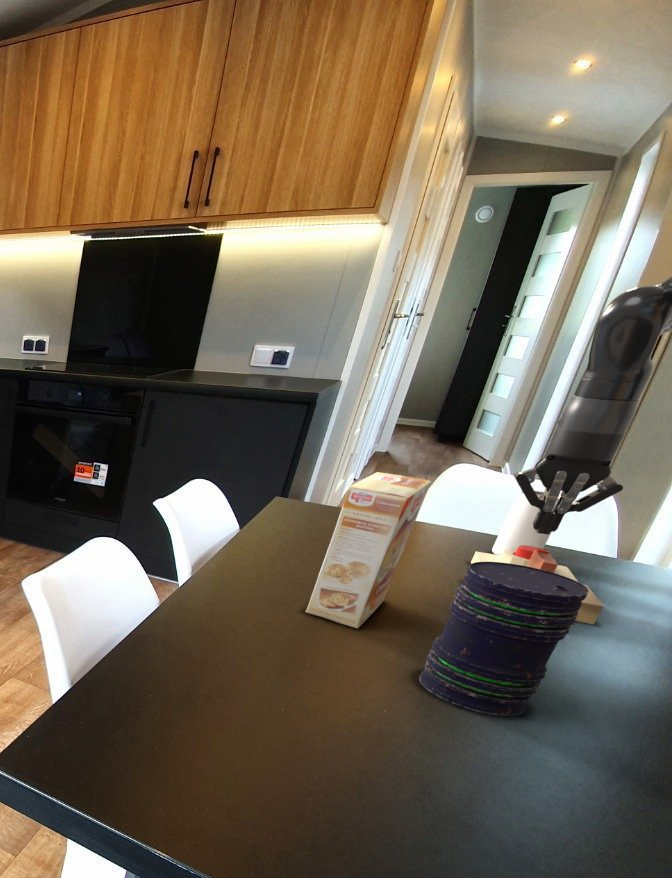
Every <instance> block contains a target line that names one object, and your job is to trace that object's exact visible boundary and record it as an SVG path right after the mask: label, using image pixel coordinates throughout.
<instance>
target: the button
mask: <svg viewBox="0 0 672 878" xmlns="http://www.w3.org/2000/svg"><path fill="white" fill-rule="evenodd" d="M536 549H541V548H538V547H533V546H525V545H521V546H518V548H517V550H516V552H515V556H518V557H521V558H525V559H529V560H530V558H531V556H532V554H533V552H534V550H536ZM542 550H545V548H543V549H542Z"/></svg>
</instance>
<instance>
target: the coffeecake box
mask: <svg viewBox="0 0 672 878" xmlns="http://www.w3.org/2000/svg"><path fill="white" fill-rule="evenodd" d="M432 482H433V481H432V480H429V479H424V478H420V477H419V478H418V477H412V476H406V475H401V474H400V475H399V474H394V473H393V474H392V473H386V472H380V471H376V472H375V473H372V474H371V475H369V476H367V477H365V478H364V479H361V480H360V481H358V482H355V483H354V484H352V485H350V486H348V490H347V493H346V496H345V499H344V502H343V505H342V507H341V510H340V513H339V516H338V519H337V521H336V525H335V527H334V530H333V534H332V537H331V539H330V542H329V546H328V547H327V551H326V554H325V556H324V559H323V561H322V565H321V568H320V570H319V572H318V575H317V579H316V582H315V585H314V588H313V591H312V593H311V596H310V599H309V603H308V605H307V607H306V610H305V613H306V614H310V615H313V616H317V617H319V618H323V619H326V620H330V621H333V622H336V623H339V624H342V625H345V626H347V627H348V626H349V627H352V628H355V629H359V628H360V627H361V626H362V625H363V624H364V623H365V622H366V621H367V620H368V619H369V617H371V615H372V614H373V613H374V612H375V611H376V610H377V609H378V608H379V607H380V605H382V603H383V602H384V601H385V598H386V596H387V593H388V590H389V589H390V588H389V587H390V585H391V583H392V580H393V578H394V575H395V572H396V570H397V568H398V565H399V563H400V560H401V557H402V556H403V553H404V550H405V548H406V545H407V543H408V540H409V537H410V535H411V533H412V530H413V529H414V525H415V523H416V521H417V519H418V516H419V513H420V510H421V508H422V505H423V503H424V501H425V498H426V496H427V493H428V491H429V488H430V486H431V484H432Z"/></svg>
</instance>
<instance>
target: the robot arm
mask: <svg viewBox="0 0 672 878" xmlns="http://www.w3.org/2000/svg"><path fill="white" fill-rule="evenodd" d="M671 331H672V276H670V277H669V278H667V279H666V280H664V281H662V282H660V283H658V284H656V285H643V286H637V287H634V288H631V289H628V290H626V291H624V292H622V293H620V294H619V295H617V296H616V297H615V298H613V299H612V300H611V301H610V302H609V303H608V305H607V306H606V307H605V308H604V310H603V311H602V313H601V315H600V316H599V319H598V320H597V322H596V326H595V328H594V332H593V335H592V340H591V345H590V349H589V355H588V362H587V365H586V367H585V370H584V372H583V373H582V376H581V378H580V380H579V382H578V385H577V387H576V388H575V391H574V393H573V396H572V397H571V399H570V400H569V403H568V404H567V406H566V407H565V409H564V411H563V413H562V415H561V416H560V417H559V419H558V422H557V426H556V428H555V430H554V433H553V434H552V437H551V440H550V441H549V443H548V446H547V448H546V450H545V453H544V455H543V457H542V458H541V459H540V460H539V461H537V462H536V463H535V465H534V467H533V468H529V469H526V470H524V471H516V472H515V473H514V474H513V477H514V479H515V481H516V483H517V484H518V486H519V488H520V490H521V493H522V492H523V493H524V495H525V497H526V499H527V500H528V502H529V503H530V505H532V506H535V507H537V508H539V511H538V513H537V516H536V518H535V520H534V522H533V528H534V529H536V530H535V531H536V533H540V534H547V535H549V534H550V532H551V531H552V532H553V533H555V532H556V531H558V529H559V526H560V524H561V523H562V520H563V519H564V516H565V515H566V514H568V513H573V512H576V513H581V512H583V511H585V510H588V509H589V508H591V507H593V506H595V505H597V504H599V503H600V502H603V501H604V500H606V499H608V498H610V497H612V496H614V495H616V494H618V493H620V492H622V491H623V488H624V486H623V485H622V484H621V483H619V482H618V481H616V480H615V479H613V478H612V477H611V473H612V470H611V464H612V462H613V460H614V458H615V455H616V454H617V451H618V450H619V447H620V446H621V444H622V442H623V439H624V437H625V435H626V433H627V431H628V430H629V427H630V425H631V423H632V421H633V419H634V417H635V414H636V411H637V408H638V404H639V402H640V399H641V397H642V395H643V393H644V391H645V389H646V387H647V385H648V383H649V381H650V379H651V377H652V375H653V372H654V367H655V363H654V362H653V360H652V354H653V352H654V350H655V347H656V344H657V341H658V339H659V338H660V337H659V336H662V335H664V334H668V333H670V332H671ZM536 475H537V476H538V478H539V480H540V482H541V484H542V486H543V487H544V488H545V489H544V491H543V492H544V497H543V499H540V498H538V496H537V495H536V493H535V491H536V490H534V487H533V486H532V484H533V483H534V482H535V480H536V478H535V477H536ZM595 485H597V486H596V489H595V490H593V491H592V492H590V493H588V494H586V495H584V496H582V497H580V498H579V499H577V498H578V497H579V495H580V493H582V492H585V491H587V490H589V489H590V488H592V487H594V486H595ZM559 495H560V498H559V500H558V501H557V503H556V500H557V498H558V497H559ZM555 503H556V505H555ZM554 506H555V507H554ZM552 532H551V533H552ZM550 535H551V534H550Z"/></svg>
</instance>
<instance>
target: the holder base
mask: <svg viewBox="0 0 672 878" xmlns="http://www.w3.org/2000/svg"><path fill="white" fill-rule="evenodd" d="M466 575H467V573H466V574H465V576H466ZM582 584H583V583H582ZM583 585H584V586H586V587H587V588H588V589H589V592H588V594H587V596H586V598H585V599H584V600H582V601H581V602H582V605H581V607H580V609H579V611H578V616H577V618H576V619H575V621H574V622H579V623H583V624H589V625H595V623H596V622H597V619H598V618H599V616H600V614H601V612H602V611H603V609H604V604H602V602H601V601H600V600H599V599H598V597H597V596H596V595H595V593H594V592H593V591H592V590H591V588H590V587H589V586H588V584H583Z"/></svg>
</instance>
